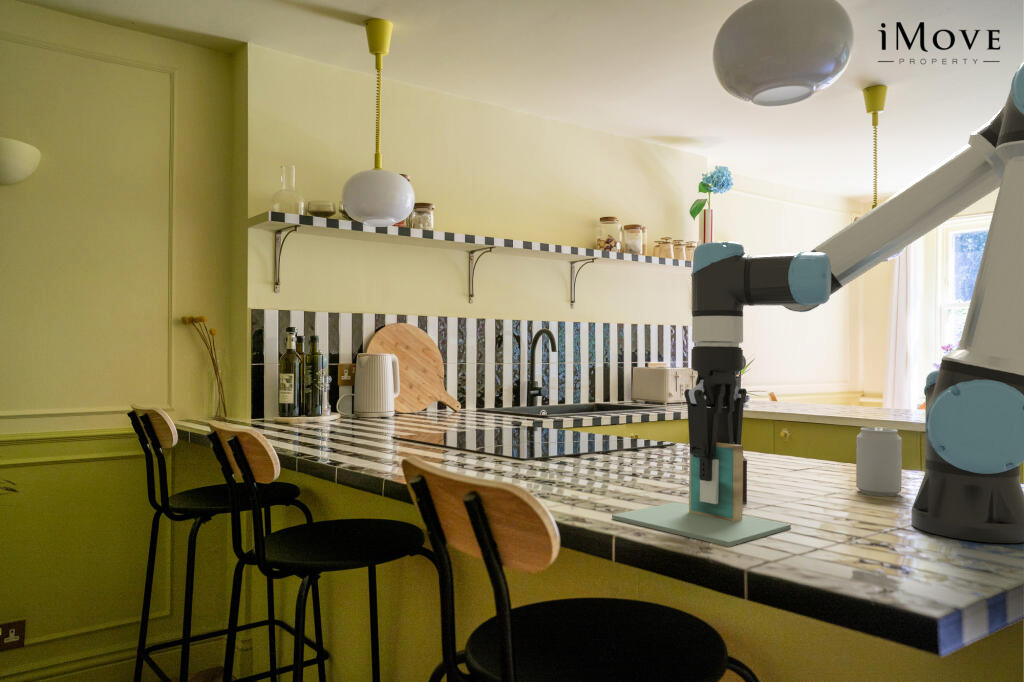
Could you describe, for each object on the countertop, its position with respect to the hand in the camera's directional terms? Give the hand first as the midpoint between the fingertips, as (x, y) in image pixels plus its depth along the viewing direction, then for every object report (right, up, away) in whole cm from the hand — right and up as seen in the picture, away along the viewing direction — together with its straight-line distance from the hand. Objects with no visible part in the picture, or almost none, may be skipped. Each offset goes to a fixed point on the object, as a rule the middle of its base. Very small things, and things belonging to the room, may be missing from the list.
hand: (715, 500), depth 110 cm
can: (+37, -4, +24) cm, 45 cm away
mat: (-3, -3, -3) cm, 5 cm away
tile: (0, -2, 0) cm, 2 cm away
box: (+7, -4, +16) cm, 18 cm away
